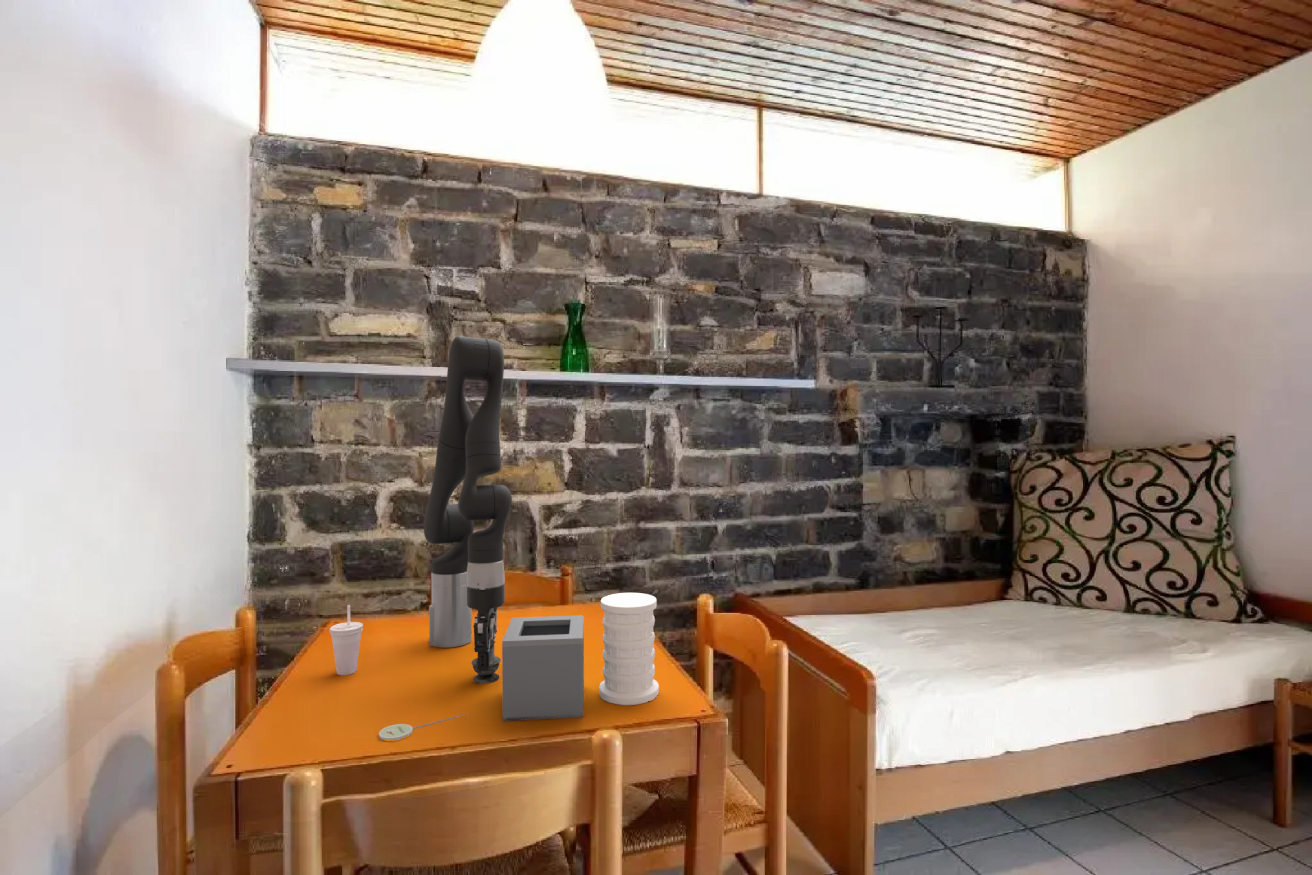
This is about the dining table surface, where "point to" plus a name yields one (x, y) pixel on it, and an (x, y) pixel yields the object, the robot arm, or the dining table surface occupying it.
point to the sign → (401, 730)
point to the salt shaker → (493, 666)
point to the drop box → (543, 668)
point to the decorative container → (628, 649)
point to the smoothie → (346, 645)
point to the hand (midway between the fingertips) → (486, 663)
